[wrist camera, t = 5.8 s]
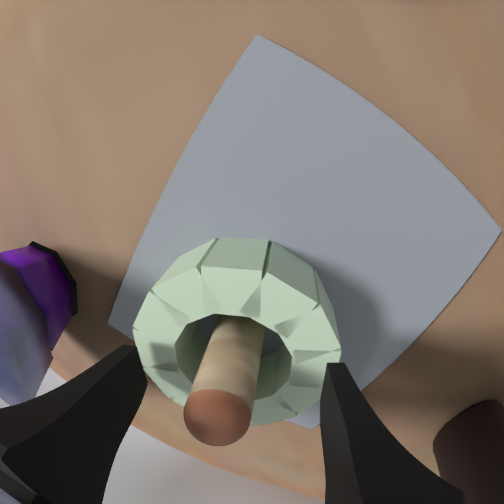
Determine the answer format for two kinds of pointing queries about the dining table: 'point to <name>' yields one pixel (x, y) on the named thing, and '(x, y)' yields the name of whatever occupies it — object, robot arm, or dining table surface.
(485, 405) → the vinegar
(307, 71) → the mat
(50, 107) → the dining table surface
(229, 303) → the bead
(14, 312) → the potion bottle
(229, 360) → the wooden dowel
